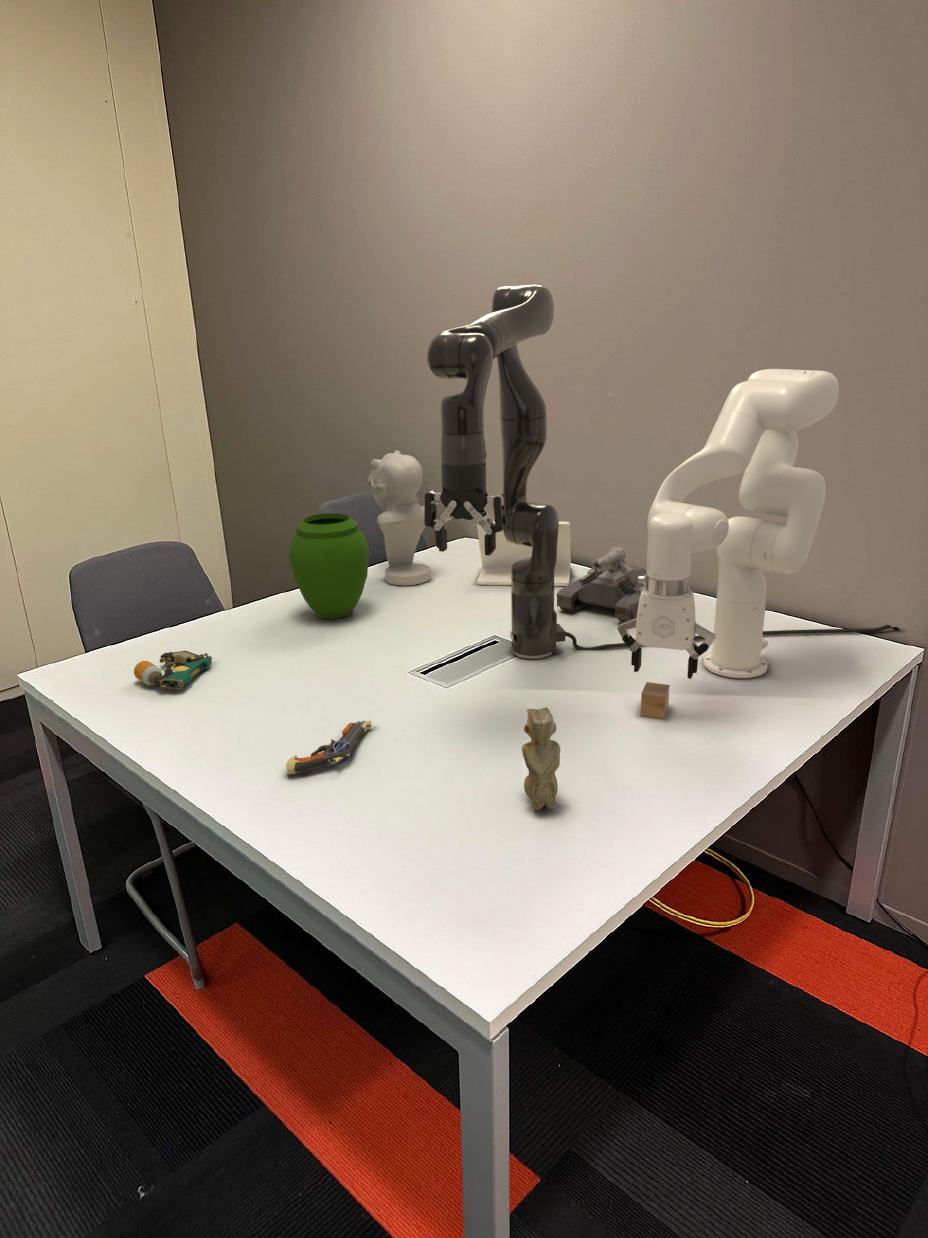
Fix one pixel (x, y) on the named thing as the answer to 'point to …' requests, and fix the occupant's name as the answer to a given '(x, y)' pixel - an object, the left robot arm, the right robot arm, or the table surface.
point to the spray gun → (172, 669)
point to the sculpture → (541, 759)
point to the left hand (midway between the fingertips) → (465, 552)
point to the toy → (606, 587)
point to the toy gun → (330, 749)
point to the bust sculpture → (400, 515)
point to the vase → (329, 563)
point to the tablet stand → (520, 558)
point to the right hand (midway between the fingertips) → (663, 672)
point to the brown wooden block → (655, 700)
